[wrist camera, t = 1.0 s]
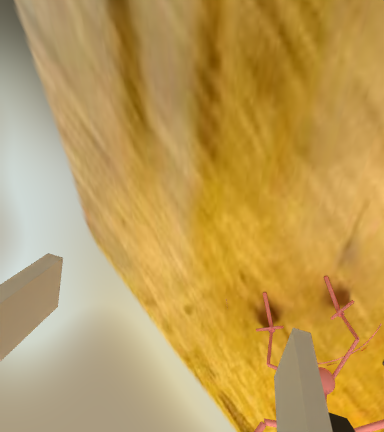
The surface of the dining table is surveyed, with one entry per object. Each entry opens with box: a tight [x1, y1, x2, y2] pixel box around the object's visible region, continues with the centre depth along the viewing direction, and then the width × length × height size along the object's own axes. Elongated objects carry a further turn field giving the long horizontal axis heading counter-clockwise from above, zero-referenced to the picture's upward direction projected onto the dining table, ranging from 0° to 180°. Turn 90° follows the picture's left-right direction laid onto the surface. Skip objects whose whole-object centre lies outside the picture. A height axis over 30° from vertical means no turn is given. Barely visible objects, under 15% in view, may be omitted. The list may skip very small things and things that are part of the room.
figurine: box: [226, 276, 384, 432], centre depth 35 cm, size 15×26×35 cm, turn 112°
